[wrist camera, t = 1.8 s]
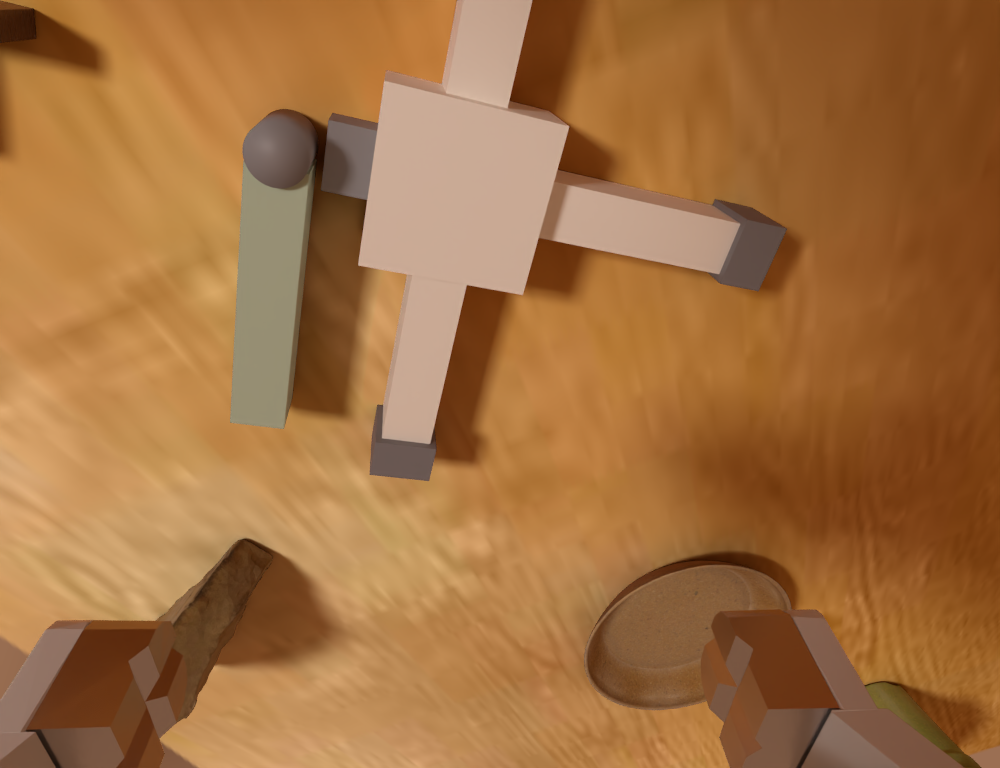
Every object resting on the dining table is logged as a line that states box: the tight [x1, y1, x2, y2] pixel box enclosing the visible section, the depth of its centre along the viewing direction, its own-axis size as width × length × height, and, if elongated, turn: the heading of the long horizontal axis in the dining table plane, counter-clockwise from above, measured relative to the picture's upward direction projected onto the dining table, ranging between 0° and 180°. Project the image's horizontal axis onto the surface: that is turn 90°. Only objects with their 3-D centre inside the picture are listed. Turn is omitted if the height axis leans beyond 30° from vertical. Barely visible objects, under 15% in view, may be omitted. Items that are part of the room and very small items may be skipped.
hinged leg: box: [230, 109, 319, 429], centre depth 28 cm, size 14×2×3 cm, turn 166°
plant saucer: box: [584, 561, 792, 710], centre depth 46 cm, size 15×15×3 cm
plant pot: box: [865, 682, 981, 768], centre depth 52 cm, size 9×9×9 cm
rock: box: [156, 539, 273, 725], centre depth 37 cm, size 11×9×10 cm
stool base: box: [321, 0, 787, 481], centre depth 28 cm, size 20×29×4 cm
